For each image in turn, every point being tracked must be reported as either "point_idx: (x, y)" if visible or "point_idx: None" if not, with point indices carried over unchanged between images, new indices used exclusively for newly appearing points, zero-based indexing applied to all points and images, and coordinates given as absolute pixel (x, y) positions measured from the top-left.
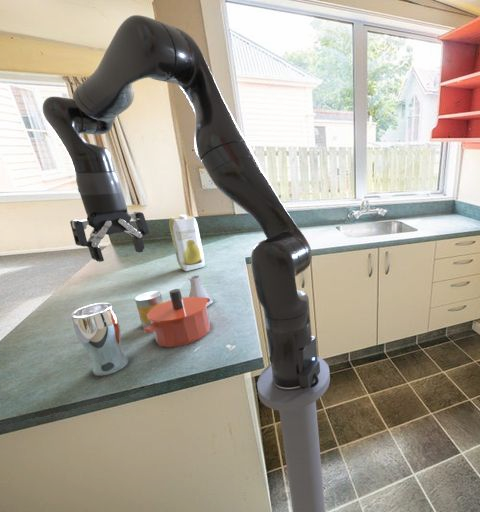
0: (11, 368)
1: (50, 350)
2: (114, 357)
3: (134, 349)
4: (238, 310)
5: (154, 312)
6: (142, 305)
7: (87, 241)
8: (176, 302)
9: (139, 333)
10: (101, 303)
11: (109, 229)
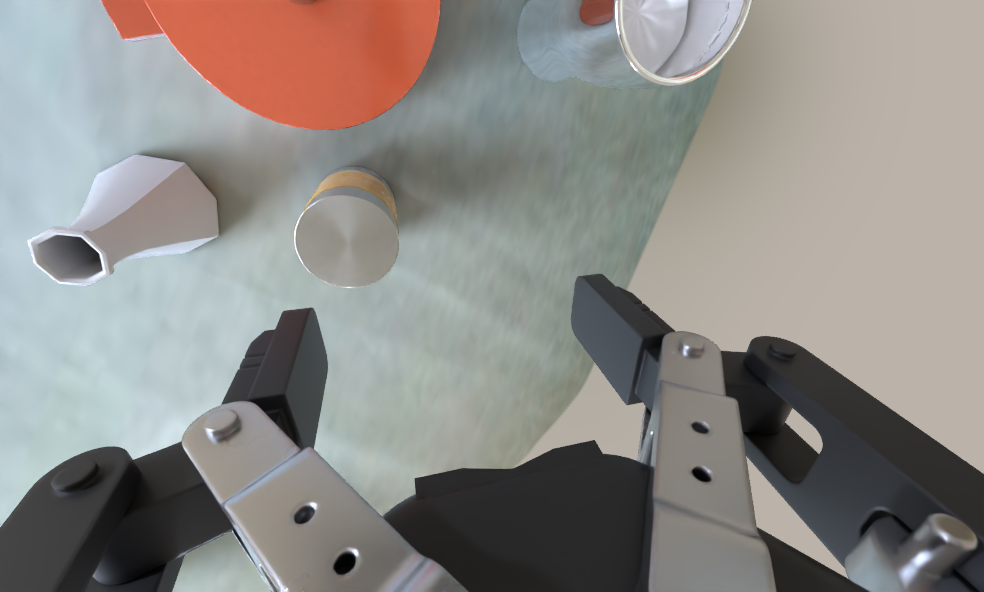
0: (629, 270)
1: (566, 288)
2: None
3: (475, 79)
4: None
5: (398, 51)
6: (388, 209)
7: (752, 385)
8: None
9: (419, 179)
10: (628, 47)
11: (606, 508)
